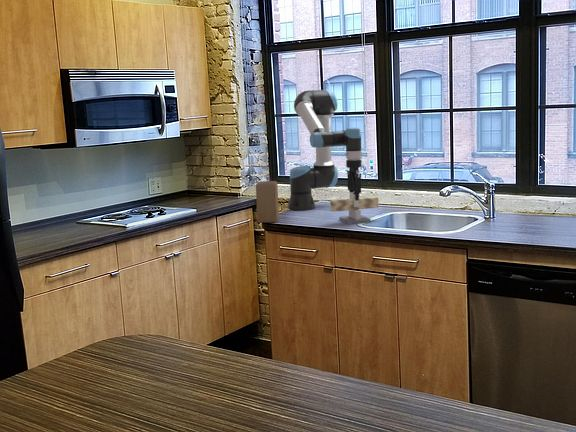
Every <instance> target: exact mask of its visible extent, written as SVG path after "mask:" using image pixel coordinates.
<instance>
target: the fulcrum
mask: <svg viewBox="0 0 576 432" xmlns="http://www.w3.org/2000/svg"><path fill="white" fill-rule="evenodd" d="M361 211H362V210H361V209H357V210H348V215H346V216H339V221H341V222H343V223H345V224H346V225H352V223H355V224H364V223H371V221H372V220H371V218H369V217H367V216H365V215H363V214H362V213H361Z"/></svg>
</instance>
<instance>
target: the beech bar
mask: <svg viewBox="0 0 576 432" xmlns="http://www.w3.org/2000/svg"><path fill="white" fill-rule="evenodd" d="M329 203H330V204H329V206H330V211H331V212H334V213H335V212H345V211H349V210H357V209H358V210H364V209H366V210H367V209H377V208H379V197H377V196H370V197H368V196H367V197H359V207H354V199H350V198H345V199H332V200H330V202H329Z"/></svg>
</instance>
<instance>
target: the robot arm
mask: <svg viewBox="0 0 576 432" xmlns="http://www.w3.org/2000/svg"><path fill="white" fill-rule="evenodd" d="M337 99H338V98H337V95H336V93H335V91H333V90H332V89H316V90H310V89H309V90H304V91H302V92H299V94H298V95H296V98H295V100H294V102H293V109H294V112H295V113H296V115H297V116H299V117H300V118H301V120H302V122H303V124H304V125H305V127H306V129H307V130H308V132H309V144H310V146H311V147H312V148H315V162H314V163H313V167H312V166H311V165H308V164H307V165H301V166H300V165H299V166H295V167H293V168H291V169H290V171H289V186H290V187H289V189H290V195H289V199H288V203H287V209H288V210H290V211H310V210H314V209H315V208H316V203H315V200H314V198H313V195H312V190H314V189H324V188H325V189H328V188H333V187H335V186H336V185H337V182H338V178H339V171H338V170H339V169H338V168H337V166H335V163H334V162H333V161H332V147H333V148H334V147H345V157H346V161H345V164H346V165H345V167H346V168H347V169H348V168H349V170H347V171H346V175H347V191H348V192H349V199H354V207H359V198H360V194H362V173H360V170H359V168H361V167H362V163H363V162H362V153H363V152H362V129H361V128H360V127H346V129H345V130H344V129H343V130H338V131H337V130H334V131H332V117H333V116H334V115H335V113H334V112H336V111H337V109H338V100H337Z"/></svg>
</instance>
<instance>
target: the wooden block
mask: <svg viewBox="0 0 576 432" xmlns="http://www.w3.org/2000/svg"><path fill="white" fill-rule="evenodd" d="M278 187H279V185H278V182H277V181H276V180H269V181H267V180H262V181H258V182H257V183H256V184H255V194H256V195H255V196H256V213H257V214H256V219H257V222H258V223H260V224H265V223H267V224H269V223H270V224H271V223H276V222H278V220H279V218H280V217H279V213H280V212H279V191H278V190H279V189H278Z"/></svg>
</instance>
